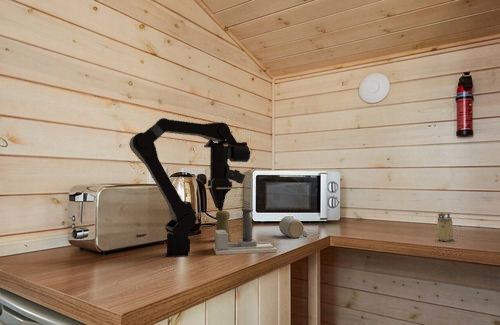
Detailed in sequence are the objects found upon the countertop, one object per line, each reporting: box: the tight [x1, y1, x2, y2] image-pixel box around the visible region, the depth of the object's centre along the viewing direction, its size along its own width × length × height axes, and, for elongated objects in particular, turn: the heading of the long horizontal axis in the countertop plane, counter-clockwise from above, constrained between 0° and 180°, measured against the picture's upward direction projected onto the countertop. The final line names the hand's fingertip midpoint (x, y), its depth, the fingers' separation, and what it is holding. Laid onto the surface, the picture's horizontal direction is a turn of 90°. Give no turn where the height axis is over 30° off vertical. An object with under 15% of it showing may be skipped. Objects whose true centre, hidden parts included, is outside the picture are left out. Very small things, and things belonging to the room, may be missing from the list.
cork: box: [215, 210, 232, 243], centre depth 123 cm, size 6×6×11 cm
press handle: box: [237, 207, 258, 247], centre depth 108 cm, size 5×6×12 cm
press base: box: [212, 229, 278, 256], centre depth 107 cm, size 19×10×6 cm, turn 101°
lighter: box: [436, 212, 454, 242], centre depth 124 cm, size 7×4×10 cm, turn 124°
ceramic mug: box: [278, 216, 309, 239], centre depth 132 cm, size 11×8×8 cm
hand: (218, 209), depth 108 cm, fingers open, 9 cm apart
